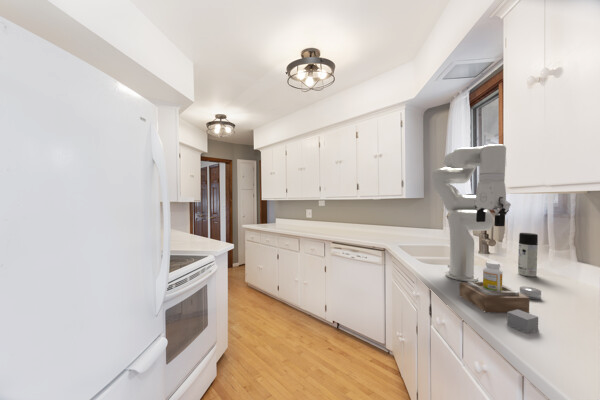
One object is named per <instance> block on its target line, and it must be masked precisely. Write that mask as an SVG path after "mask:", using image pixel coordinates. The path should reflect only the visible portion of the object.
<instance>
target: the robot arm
mask: <svg viewBox="0 0 600 400" xmlns="http://www.w3.org/2000/svg"><path fill="white" fill-rule="evenodd" d="M506 158H507V147H506V145H505V144H501V143H495V144H487V145H484V146H483V145H482V146H475V147H473V146H472V147H459V148H456V149H454V150H453V151H451V152H449V153H447V154H446V155H445V156H444V158H443V163H444V165H445V166H446V167H442V168H441V167H440V168H437V169H434V170H433V171H432V173H431V178H430V179H431V184H432V187H433V189H434V190H435V192H436V193H437V194H438V195H439V197H440V200H441V201H442V203H443V205H444V207H445V210H446V211H447V212H448V213H449V214H448V215H447V221H448V227H449V228H448V229H449V264H448V265H447V268H449V270H448V271H446V272H445V276H446V277H447V278H449V279H453V280H456V281H461V282H478V280H479V277H478V275H476V274H475V239H474V237H473V236H472V235H471V234H470V232H471V231H472V232H473V231H477V232H478V231H479V232H480V231H481V232H483V231H489V230H491V229H492V228H493V227H505V226H506V225H505V223H506V216H507V215H508V214H507V213H508V212H509V211H510V207H511V206H512V204H511V203H510V202H509V201H507V190H506V184H505V183H506V181H505V180H506V179H505V178H506V177H505V176H506V160H507V159H506ZM477 167H479V175H478V176H479V177H478V178H479V180H478V183H477V186H476V191H475V192H476V193H475V194H474V195H472V194H461V193H460V192H459V189H457V187H455V186H453V185H452V184H466V183H468V181H470V179H471V177H472V175H473V174H474V172H475V170H476V169H477ZM490 210H493V211H494V213H495V215H494V216H493V215H492V213H491V211H490ZM469 231H470V232H469Z"/></svg>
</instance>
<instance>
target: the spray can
mask: <svg viewBox="0 0 600 400" xmlns="http://www.w3.org/2000/svg"><path fill="white" fill-rule="evenodd" d="M538 235H539V234H537V233H533V232H519V235H518V261H517V263H518V265H517V266H518V267H517V272H518V273H517V274H518V275H520V276H523V277H529V278H530V277H531V278H535V277H537V273H538V245H539V244H538V243H539V241H538V240H539V236H538Z"/></svg>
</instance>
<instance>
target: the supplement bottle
mask: <svg viewBox="0 0 600 400" xmlns="http://www.w3.org/2000/svg"><path fill="white" fill-rule="evenodd" d="M500 268H501V263H500V262H497V261H492V260H491V261H490V260H488V261H485V267H483V270H482V272H483V274H482V282H483V288H484V289H486V290H488V291H502V285H503V271H502V269H500Z"/></svg>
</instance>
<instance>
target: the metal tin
mask: <svg viewBox="0 0 600 400" xmlns="http://www.w3.org/2000/svg"><path fill="white" fill-rule="evenodd" d="M519 293H520V294H522V295H524V296H527V297H529V300H533V301H542V290H540V289H538V288H536V287H530V286H520V287H519Z"/></svg>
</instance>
